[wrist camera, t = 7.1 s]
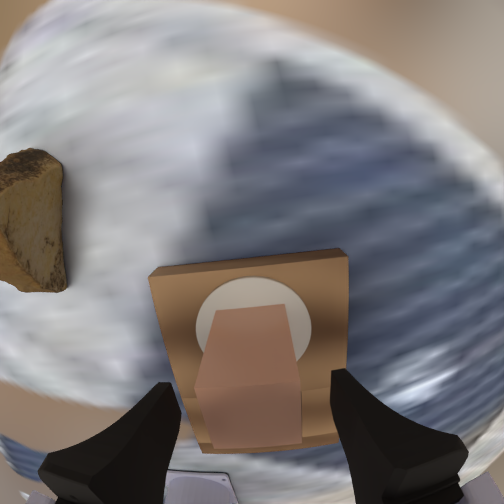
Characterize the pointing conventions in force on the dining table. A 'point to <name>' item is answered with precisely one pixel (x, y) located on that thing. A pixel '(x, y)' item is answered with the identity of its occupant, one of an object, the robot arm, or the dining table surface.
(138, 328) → the dining table surface
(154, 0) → the dining table surface
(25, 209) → the rock
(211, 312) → the cream disc
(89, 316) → the dining table surface
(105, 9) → the dining table surface
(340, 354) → the walnut board
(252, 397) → the terracotta block
